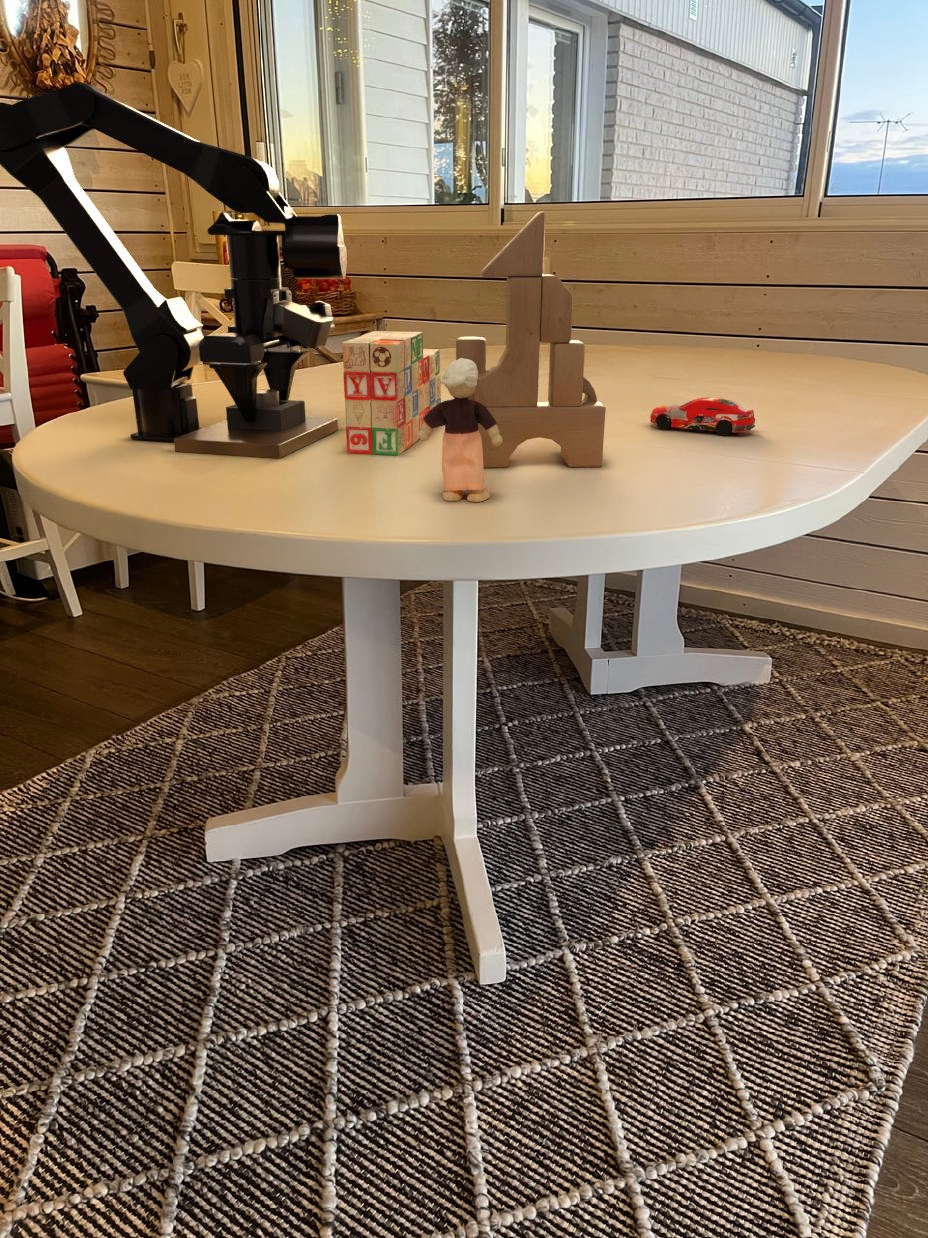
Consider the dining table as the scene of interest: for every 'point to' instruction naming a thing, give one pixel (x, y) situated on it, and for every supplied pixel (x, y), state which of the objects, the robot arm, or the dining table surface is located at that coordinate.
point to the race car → (705, 416)
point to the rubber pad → (269, 417)
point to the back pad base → (256, 435)
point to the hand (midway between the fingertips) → (266, 415)
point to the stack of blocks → (388, 390)
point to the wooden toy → (535, 362)
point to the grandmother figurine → (462, 433)
